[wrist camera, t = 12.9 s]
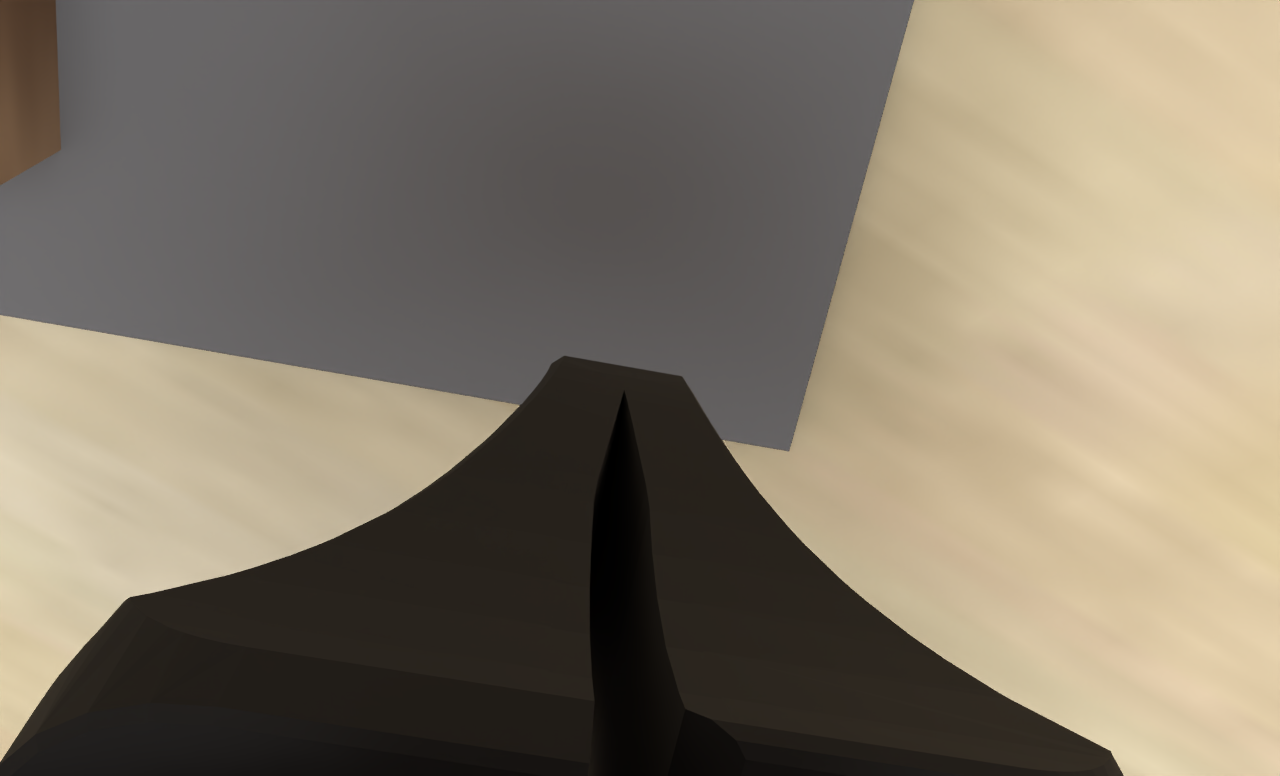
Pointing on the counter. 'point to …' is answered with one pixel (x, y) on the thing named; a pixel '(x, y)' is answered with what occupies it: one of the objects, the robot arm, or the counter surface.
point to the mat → (461, 187)
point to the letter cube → (28, 85)
